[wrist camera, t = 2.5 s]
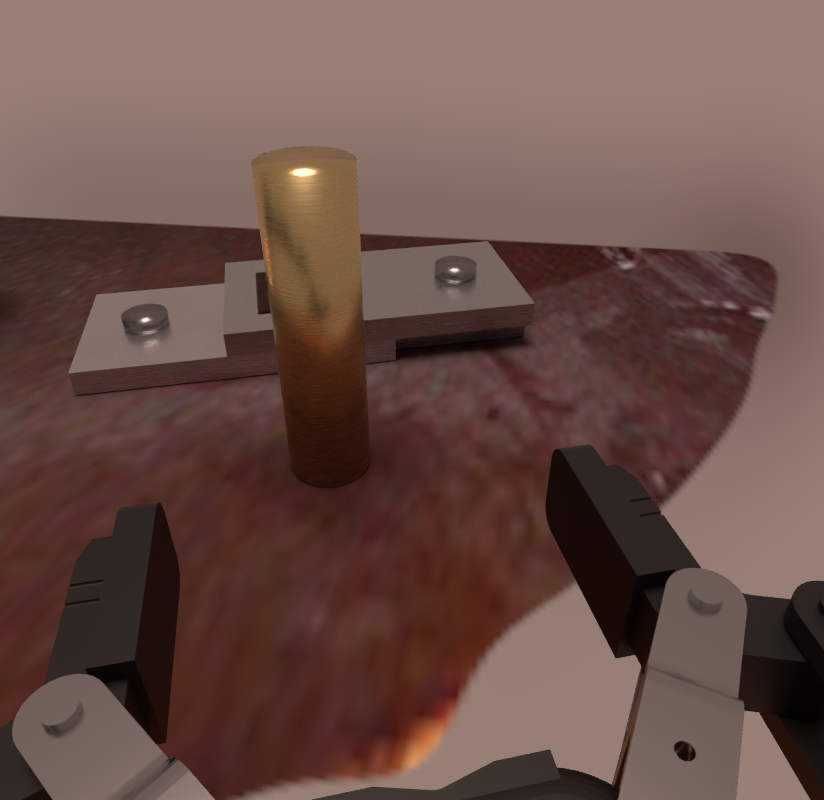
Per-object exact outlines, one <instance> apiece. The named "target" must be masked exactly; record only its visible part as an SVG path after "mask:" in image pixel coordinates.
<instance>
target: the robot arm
mask: <svg viewBox="0 0 824 800" xmlns="http://www.w3.org/2000/svg"><path fill="white" fill-rule="evenodd" d="M546 516H547V521H548V525H549V528H550V530H551V532H552V534H553V536H554V538H555V540H556V542H557V544H558V546H559V548H560V550H561V552H562V554H563V556H564V558H565V560H566V562H567V564H568V566H569V568H570V570H571V572H572V574H573V576H574V577H575V579H576V581H577V583H578V585H579V587H580V589H581V591H582V593H583V595H584V597H585V599H586V601H587V603H588V605H589V607H590V609H591V611H592V613H593V615H594V617H595V618H596V620H597V623H598V624H599V626H600V628H601V630H602V632H603V634H604V636H605V638H606V640H607V642H608V644H609V646H610V648H611V650H612V652H613V654H614V656H615V658H620V657H626V656H631V655H636V657H637V658H638V661H639V662H640V664H641V670H640V673H639V677H638V681H637V685H636V689H635V694H634V698H633V702H632V706H631V710H630V715H629V719H628V723H627V727H626V732H625V736H624V740H623V744H622V749H621V752H620V756H619V760H618V764H617V768H616V771H615V776H614V779H613V783H612V785H611V784H609V783H607V782H605V781H603V780H601V779H599V778H596V777H594V776H592V775H589V774H586V773H583V772H579V771H575V770H570V769H565V768H557V767H556V764H555V762H554V759H553V756H552V754H551V751H550V750H545V751H540V752H536V753H531V754H526V755H521V756H517V757H512V758H507V759H502V760H498V761H493V762H492V763H490V764H488V765H486V766H484V767H482V768H480V769H478V770H476V771H475V772H473V773H471V774H469V775H467V776H465V777H463V778H461V779H459V780H457V781H455V782H454V783H452V784H450V785H448V786H446V787H444V788H442V789H439V790H418V789H400V788H384V787H370V788H365V789H360V790H355V791H351V792H346V793H341V794H337V795H332V796H327V797H322V798H318V799H313V800H736V794H737V784H738V773H739V762H740V752H741V742H742V731H743V720H744V710H745V711H753V712H759V713H760V715H761V716H762V718H763V720H764V722H765V723H766V725H767V727H768V728H769V730H770V732H771V733H772V735H773V737H774V739H775V740H776V742H777V744H778V745H779V747H780V749H781V750H782V752H783V754H784V755H785V757H786V759H787V760H788V762H789V764H790V766H791V767H792V769H793V771H794V772H795V774H796V776H797V777H798V779H799V781H800V783H801V784H802V786H803V788H804V789H805V791H806V793H807V794H808V796H809V798H810V800H824V581H810V582H806V583H804V584H801V585H800V586H798V587H797V589H796V590H795V591H794V593H793V596H792V598H791V599H783V598H773V597H763V596H754V595H748V594H743V593H741V591H740V590H739V589H738V588H737V587H736V586H735V585H734V584H733V583H732V582H731V581H730V580H728V579H727V578H725V577H723V576H722V575H719V574H718V573H715V572H713V571H710V570H706V569H702V568H701V567H700V566H699V564H698V563H697V562H696V560H695V559H694V557H693V556H692V555H691V553H690V552H689V550H688V549H687V548H686V547H685V545H684V543H683V542H682V541H681V539H680V538H679V536H678V535H677V534H676V532H675V531H674V529H673V528H672V527H671V525H670V524H669V523H668V521H667V520H666V518H665V517H664V515H661V511H660V510H659V508H658V507H657V506H656V504H655V503H654V501H651V499H650V496H649V494H648V493H647V491H646V490H645V489H644V487H643V486H642V484H641V483H640V482H639V480H638V479H637V478H635V477H634V476H632V475H631V474H630V473H628V472H627V471H625V470H624V469H623V468H621V467H620V466H618V465H613V466H606V465H605V463H604V462H603V460H602V459H601V457H600V456H599V454H598V453H597V451H596V450H595V449H594V447H592V446H591V445H582V446H575V447H567V448H560V449H555V450H554V452H553V455H552V460H551V467H550V474H549V482H548V489H547V496H546ZM179 591H180V574H179V565H178V559H177V555H176V551H175V548H174V544H173V541H172V537H171V534H170V530H169V527H168V523H167V520H166V516H165V513H164V509H163V507H162V505H161V503H152V504H145V505H138V506H130V507H123V508H120V509H119V510H118V512H117V517H116V521H115V526H114V531H113V536H110V537H103V538H96V539H92V540H91V542H90V543H89V544H88V546H87V547H86V548H85V550H84V551H83V552H82V554H81V555H80V556H79V558H78V559H77V560H76V562H75V566H74V570H73V574H72V578H71V582H70V589H68V593H67V597H66V601H65V608H64V609H63V613H62V617H61V621H60V625H59V629H58V632H57V636H56V640H55V644H54V648H53V652H52V656H51V660H50V664H49V668H48V672H47V675H46V679H45V682H44V685H43V686H42V687H40V688H39V689H38V690H37V691H35V692H34V693H33V694H32V695H31V696H30V697H29V698H28V699H27V700H26V701H25V702H24V704H23V705H22V706H21V708H20V709H19V711H18V713H17V715H16V717H15V719H14V720H13V721H11V722H10V723H8V724H7V725H5V726H3V727H2V728H0V800H215V799H214V798H213V797H212V796H211V795H210V794H209V792H208V791H207V790H206V789H205V788H204V787H203V786H202V784H201V783H200V782H199V781H198V780H197V779H196V778H195V776H194V775H193V774H192V773H191V772H190V771H189V770H188V769H187V767H186V766H185V765H184V764H183V763H182V762H180V761H179V760H178V759H177V758H172V759H169V758H168V757H167V756H166V755H165V754H164V753H163V752H162V751H161V750H160V748H159V747H158V746H157V745H156V744H161V743H166V737H167V726H168V714H169V703H170V692H171V681H172V670H173V658H174V647H175V636H176V625H177V614H178V603H179Z"/></svg>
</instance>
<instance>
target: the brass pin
mask: <svg viewBox="0 0 824 800" xmlns="http://www.w3.org/2000/svg"><path fill="white" fill-rule="evenodd" d="M356 162H357V161H356V157H355V156H354V155H353V154H351V153H349V152H347V151H344V150H340V149H336V148H329V147H313V146H312V147H310V146H309V147H308V146H307V147H292V148H284V149H278V150H274V151H270V152H267V153H264V154H262V155H259V156H258V157H256V158H255V159H254V160H253V161H252V163H251V166H252V173H253V181H254V188H255V196H256V204H257V211H258V219H259V226H260V234H261V242H262V249H263V257H264V264H265V272H266V279H267V287H268V294H269V302H270V310H271V317H272V325H273V332H274V340H275V347H276V355H277V363H278V370H279V378H280V385H281V393H282V400H283V408H284V415H285V423H286V431H287V438H288V446H289V453H290V461H291V467H292V471H293V473H294V474H295V475H296V476H297V478H299V479H300V480H301V481H303V482H305V483H307V484H310V485H313V486H318V487H336V486H341V485H345V484H348V483H350V482H352V481H354V480H356V479H358V478H359V477H360V476H362V475H363V474H364V473H365V471H366V470H367V469H368V466H369V464H370V444H369V422H368V400H367V378H366V357H365V335H364V313H363V291H362V269H361V248H360V226H359V204H358V182H357V163H356Z"/></svg>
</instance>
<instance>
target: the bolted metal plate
mask: <svg viewBox="0 0 824 800" xmlns="http://www.w3.org/2000/svg"><path fill="white" fill-rule="evenodd" d="M361 269H362V291H363V313H364V335H365V357H366V363H375V362H384V361H393V360H396V349H406V348H415V347H425V346H434V345H443V344H453V343H462V342H471V341H481V340H490V339H499V338H509V337H518V336H524V326H527V325H532V323H533V314H534V305H535V303H534V302H533V301H532V299H531V298H530V297H529V295H528V294H527V293H526V291H525V290H524V289H523V287H522V286H521V285H520V283H519V282H518V281H517V280H516V278H515V277H514V276H513V274H512V273H511V272H510V270H509V269H508V268H507V266H506V265H505V264H504V262H503V261H502V260H501V258H500V257H499V256H498V254H497V253H496V252H495V250H494V249H493V248H492V246H491V245H490V244H489V243H488V241H487V242H475V243H463V244H451V245H439V246H427V247H415V248H402V249H390V250H378V251H366V252H361ZM263 312H271V310H270V302H269V294H268V287H267V279H266V272H265V264H264V260H257V261H245V262H233V263H225V283H224V284H213V285H201V286H190V287H178V288H167V289H155V290H144V291H132V292H121V293H110V294H98V295H96V298H95V301H94V304H93V306H92V309H91V312H90V315H89V317H88V320H87V323H86V326H85V329H84V331H83V334H82V337H81V340H80V342H79V345H78V348H77V351H76V354H75V356H74V359H73V362H72V365H71V368H70V370H69V373H68V374H69V377H70V380H71V383H72V385H73V388H74V391H75V394H76V395H82V394H92V393H101V392H110V391H119V390H128V389H137V388H146V387H155V386H165V385H174V384H183V383H192V382H201V381H210V380H219V379H229V378H238V377H247V376H256V375H265V374H274V373H279V370H278V363H277V355H276V347H275V340H274V332H273V325H272V317H271V314H261V313H263Z"/></svg>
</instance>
